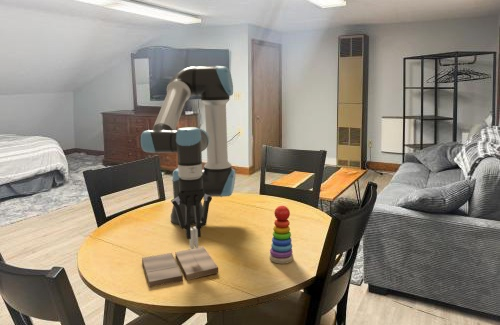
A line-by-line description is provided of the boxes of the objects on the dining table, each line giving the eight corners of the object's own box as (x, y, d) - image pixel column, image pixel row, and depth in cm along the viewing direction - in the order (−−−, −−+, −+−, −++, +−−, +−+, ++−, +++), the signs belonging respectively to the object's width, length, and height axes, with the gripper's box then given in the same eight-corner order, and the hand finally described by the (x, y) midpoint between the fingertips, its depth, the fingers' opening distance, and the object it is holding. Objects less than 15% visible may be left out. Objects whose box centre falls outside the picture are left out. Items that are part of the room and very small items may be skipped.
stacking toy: (292, 265, 137) (292, 210, 133) (268, 264, 138) (267, 209, 135) (294, 255, 145) (294, 203, 141) (271, 254, 146) (270, 202, 142)
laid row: (142, 262, 141) (141, 257, 141) (171, 257, 145) (171, 252, 144) (149, 287, 125) (149, 281, 124) (183, 280, 128) (182, 275, 128)
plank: (175, 257, 145) (175, 252, 145) (203, 250, 148) (203, 246, 148) (187, 280, 129) (186, 274, 128) (218, 272, 132) (217, 267, 131)
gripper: (171, 182, 126) (175, 255, 131) (215, 177, 131) (217, 247, 136) (166, 176, 133) (170, 246, 138) (208, 172, 138) (211, 239, 143)
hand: (194, 247), depth 137 cm, fingers closed
